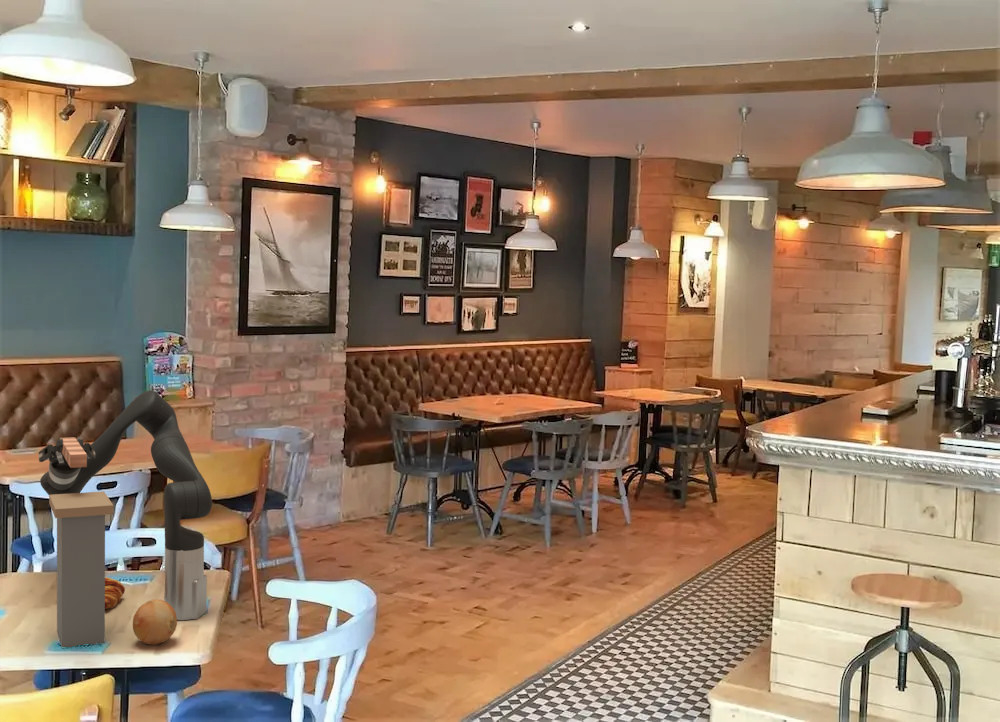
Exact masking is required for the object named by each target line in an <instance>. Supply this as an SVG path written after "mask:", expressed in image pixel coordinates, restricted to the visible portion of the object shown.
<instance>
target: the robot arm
mask: <svg viewBox="0 0 1000 722" xmlns="http://www.w3.org/2000/svg"><path fill="white" fill-rule="evenodd" d="M135 422H137V423H138V424H139V425H140V426H141V427H142V428H144V429H145V430H146V432H148V433H149V434H150V435H151V436H152V438H153V441H152V444H151V446H150V455H151V457H152V460H153V463H154V465H155V468H156V469H157V471H158V472H159V473H160V474H162V475H163V476H164V477H165V478H167V479H169V480H170V481H172V482H169V483H167V484H166V485H165V487H164V490H163V515H164V516H163V518H164V519H163V520H164V597H163V598H164V600H163V601H165V602H167V603H168V604H170V605H171V606H172V608H173V609H174V611H175V613H176V617H177V621H188V620H199V618H200V617H202V616H203V615H205V612H206V613H207V605H208V604H207V603H208V602H207V601H208V600H207V595H208V594H207V593H208V591H207V590H208V589H207V588H208V587H207V586H208V576H207V574H204V573H205V572H204V570H205V569H204V568H205V566H204V565H205V561H204V560H205V558H204V557H205V536H204V533H201V532H200V531H197V530H190V529H187V528H184V527H185V526H182V525H181V520H182V521H183V520H192V519H200V518H204V517H207V516H208V515H209V514H210V512H211V511H212V508H213V507H212V506H213V499H212V498H213V497H212V494H211V491H210V488H209V485H208V483H207V482H206V480H205V479H204V476H202V474H201V472H200V471H199V468H197V466H196V463H195V461H194V458H193V456H192V453H191V450H190V448H189V446H188V444H187V442H186V440H185V439H184V436H183V434H182V432H181V430H180V427H179V423H178V419H177V415H176V412H175V409H174V408H173V406H172V405H171V404H169V402H167V401H166V400H165V399H164V398H163V397H162V396H161V395H160V394H159V393H158V392H156V391H155V390H145V391H144V392H142V393H140V394H138V395H137V397H135V398H134V399H133V400H131V402H130V403H129V404H128V405H127V406H126V407H125V408H124V409H123V410H122V411H121V413H120V414H119V415H118V416H117V417H116V418H115V419H113V421H112V422H111V424H109V426H108V427H107V428H106V429H104V430H105V431H103V433H101V434H100V436H98V437H97V438H96V439H95V440H94V441H93V442H92V443H91V444H90V443H89V442H86V443H84V439H82V438H81V437H77V438H76V440H77V441H78V442H79V444H80V445H81V447H82V448H83V450H84V451H85V452H86V454H87V467H77V468H70V466H69V464H68V463H67V461H66V459H65V458H64V456H63V454H62V449H63V439H60V438H59V440H56V443H55V445H53V444H48V445H46V446H45V447H44V448H42V449H40V450H39V452H38V462H39V463H43V462H45V461H49V464H48V470H47V472H45V473H44V474H43V475H42V476H41V478H40V481H39V482H40V486H41V487H42V490H44V491H45V492H46V494H47V495H48V496H49V495H54V494H70V493H82V490H83V489H84V487H85V486H86V485H87V484H88V482H89V481H90V480H91V479H92V478H93V477H94V476H95V475H96V474H98V473H99V472H100V471H102V469H104V468H105V467H107V466H108V465H109V463H110V462H111V461H112V460H113V459H114V457H115V455H116V454H117V451H118V448H119V445H120V443H121V440H122V438H123V436H124V433H125V432H126V431H127V429H129V428H130V427H131V425H133V424H134V423H135Z"/></svg>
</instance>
